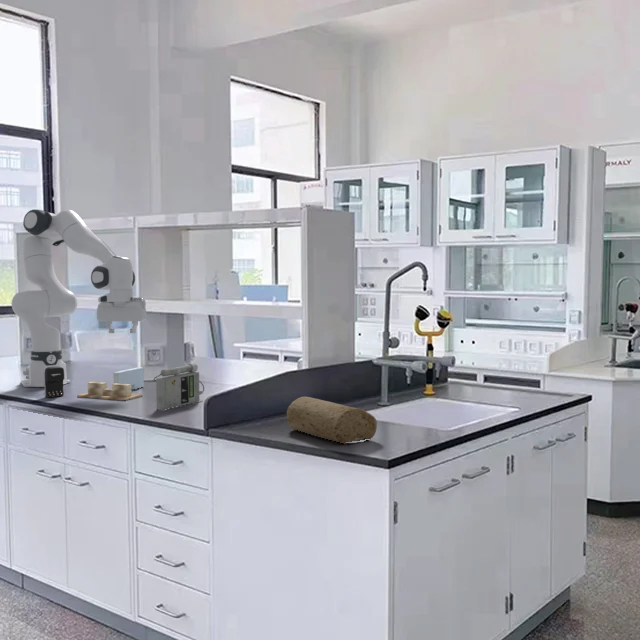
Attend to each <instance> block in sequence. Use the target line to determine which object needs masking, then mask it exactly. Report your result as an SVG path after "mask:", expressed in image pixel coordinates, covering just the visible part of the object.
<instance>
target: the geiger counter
mask: <svg viewBox="0 0 640 640" xmlns="http://www.w3.org/2000/svg"><path fill="white" fill-rule="evenodd" d="M198 369H199V366H198V364H197V363H194V362H193V363H188V364H187V365H182V366H181V365H180V366H177V367H171V368H164V369H162V370H161V371H160V373H159V374H158V375H156V376H154V378H153V382H155V384H156V385H155V386H156V388H155V389H156V410H157V409H158V410H157V411H160V410H164V411H166V410H165V409H168V408H172V407H176V406H180V407H183V406H182V405H184V406H187V405H186V404H188V405H191V404H190V403H192V404H196V403H199V402H200V395H202V394H204V391H205V386H204V384H203V382H202V381H200V372H199V371H198ZM200 385H201V386H202V390H200ZM198 401H199V402H198ZM195 402H196V403H195ZM176 408H177V407H176ZM172 409H173V408H172ZM168 410H169V409H168Z"/></svg>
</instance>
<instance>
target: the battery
mask: <svg viewBox="0 0 640 640" xmlns="http://www.w3.org/2000/svg"><path fill="white" fill-rule="evenodd" d="M63 380H64V369H63V368H62V367H60V366H50V367H46V368H45V369H44V387H43V388H44V398H57V396H59V397H63V396H64V395H65V394H64V393H65V392H64V385H63Z"/></svg>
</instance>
